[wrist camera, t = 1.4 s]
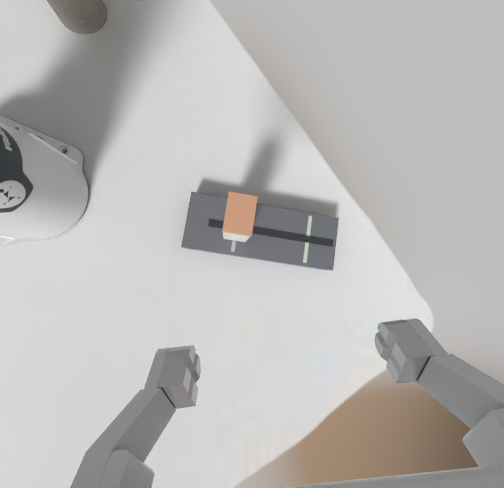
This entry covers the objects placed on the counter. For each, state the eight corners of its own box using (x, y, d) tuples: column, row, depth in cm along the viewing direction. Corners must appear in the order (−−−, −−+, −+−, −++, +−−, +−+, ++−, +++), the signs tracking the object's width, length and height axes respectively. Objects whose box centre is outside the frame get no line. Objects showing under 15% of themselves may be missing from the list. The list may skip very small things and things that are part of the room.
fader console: (184, 248, 38) (181, 246, 35) (194, 197, 39) (191, 191, 36) (325, 269, 41) (333, 270, 38) (330, 221, 42) (338, 217, 39)
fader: (223, 239, 36) (222, 230, 26) (228, 210, 36) (228, 191, 27) (245, 243, 36) (251, 235, 27) (249, 214, 37) (257, 196, 27)
